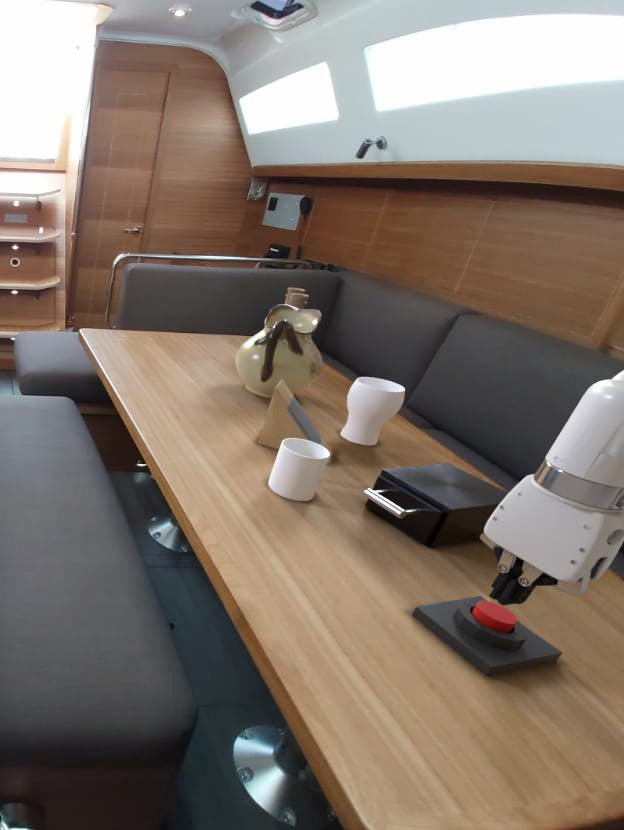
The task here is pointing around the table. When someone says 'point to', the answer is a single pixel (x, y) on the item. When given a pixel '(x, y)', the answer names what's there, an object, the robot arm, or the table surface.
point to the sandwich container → (288, 421)
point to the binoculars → (296, 298)
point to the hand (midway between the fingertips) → (503, 599)
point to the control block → (484, 638)
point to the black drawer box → (451, 499)
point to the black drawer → (404, 509)
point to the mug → (298, 469)
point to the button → (494, 616)
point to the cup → (371, 408)
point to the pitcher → (281, 352)
